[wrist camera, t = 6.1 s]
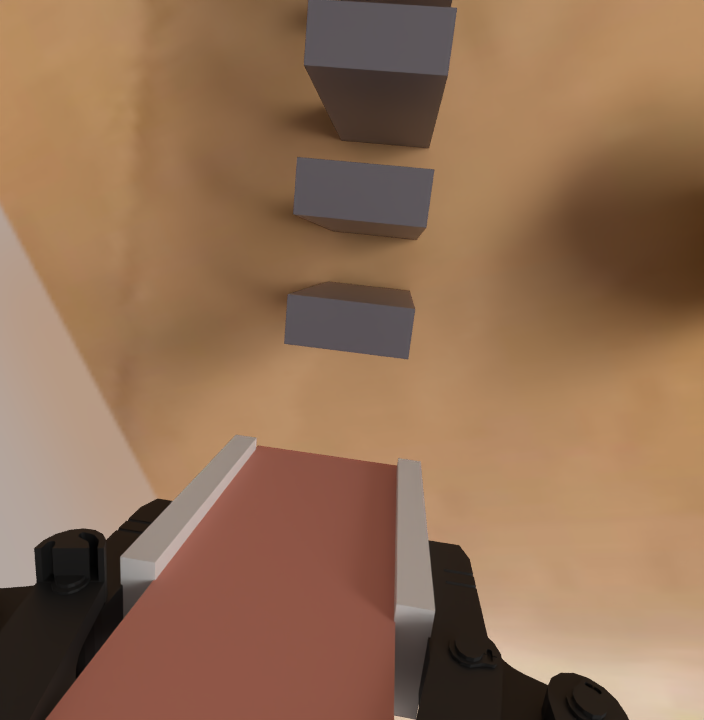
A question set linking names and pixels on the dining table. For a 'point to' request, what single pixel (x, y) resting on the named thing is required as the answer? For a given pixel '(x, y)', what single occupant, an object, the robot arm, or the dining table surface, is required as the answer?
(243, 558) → the domino
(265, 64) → the dining table surface
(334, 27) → the domino
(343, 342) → the domino
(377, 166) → the domino
